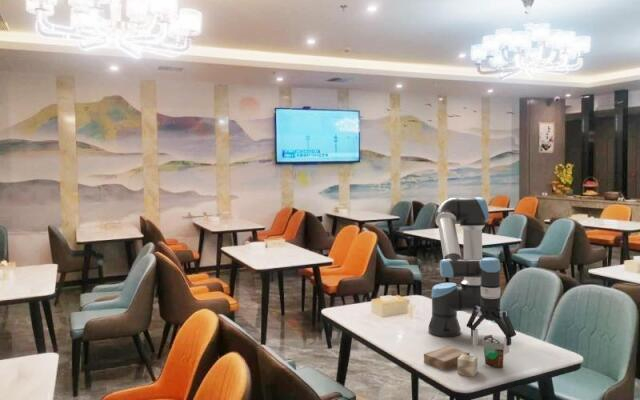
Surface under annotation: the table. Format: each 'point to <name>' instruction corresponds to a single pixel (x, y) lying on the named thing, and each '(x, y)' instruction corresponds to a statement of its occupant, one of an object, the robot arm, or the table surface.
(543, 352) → the table surface
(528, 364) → the table surface
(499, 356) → the food container
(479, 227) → the robot arm
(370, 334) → the table surface
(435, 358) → the base block
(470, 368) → the cream cube
